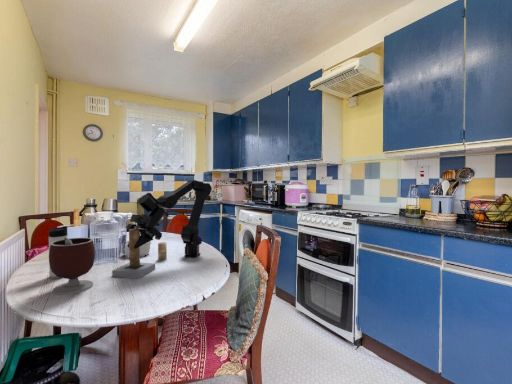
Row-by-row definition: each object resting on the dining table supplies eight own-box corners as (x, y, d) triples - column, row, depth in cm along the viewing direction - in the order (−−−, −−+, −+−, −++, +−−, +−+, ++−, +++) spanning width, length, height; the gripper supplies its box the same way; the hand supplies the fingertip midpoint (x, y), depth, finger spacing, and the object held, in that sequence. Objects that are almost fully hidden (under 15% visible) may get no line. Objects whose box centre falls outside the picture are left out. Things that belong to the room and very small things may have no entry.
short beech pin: (168, 258, 140) (167, 242, 139) (164, 260, 136) (163, 244, 135) (160, 257, 140) (160, 242, 140) (156, 259, 137) (156, 243, 136)
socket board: (155, 269, 122) (155, 263, 122) (138, 278, 111) (138, 272, 111) (130, 267, 125) (130, 261, 125) (112, 276, 113) (112, 270, 113)
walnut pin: (140, 265, 120) (139, 228, 119) (139, 268, 116) (138, 230, 116) (130, 266, 119) (129, 229, 118) (129, 268, 115) (128, 230, 115)
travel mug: (73, 274, 115) (71, 226, 114) (57, 279, 109) (55, 229, 108) (62, 272, 117) (61, 225, 116) (45, 278, 111) (44, 228, 110)
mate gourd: (56, 283, 105) (55, 231, 104) (98, 279, 110) (97, 228, 109) (42, 300, 90) (40, 239, 90) (90, 294, 95) (89, 236, 94)
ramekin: (155, 251, 152) (155, 239, 152) (143, 258, 139) (143, 244, 139) (132, 251, 153) (132, 238, 153) (118, 257, 140) (118, 244, 140)
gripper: (129, 205, 125) (105, 234, 116) (155, 208, 115) (131, 239, 106) (145, 220, 132) (123, 248, 123) (171, 224, 122) (149, 255, 113)
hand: (131, 247), depth 116 cm, fingers closed on walnut pin, 4 cm apart
